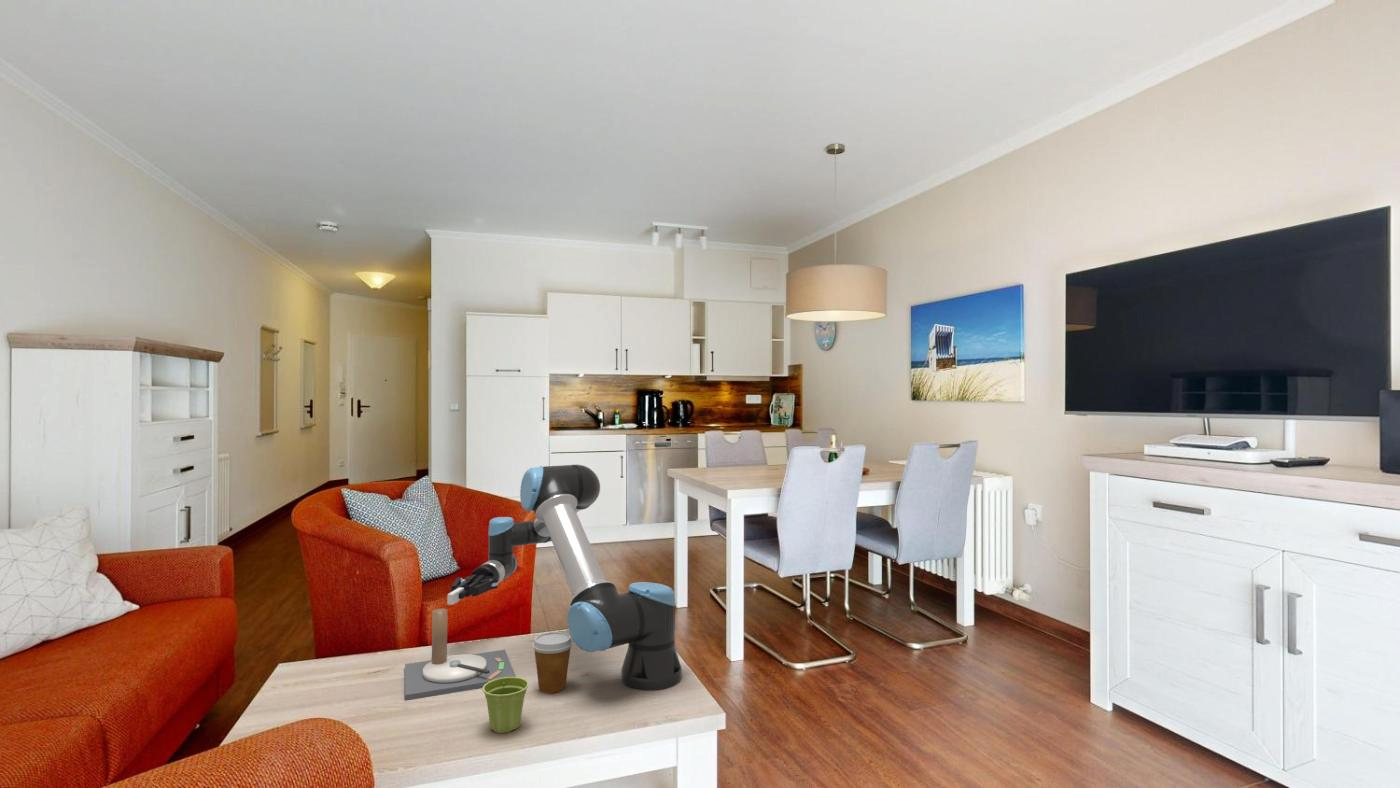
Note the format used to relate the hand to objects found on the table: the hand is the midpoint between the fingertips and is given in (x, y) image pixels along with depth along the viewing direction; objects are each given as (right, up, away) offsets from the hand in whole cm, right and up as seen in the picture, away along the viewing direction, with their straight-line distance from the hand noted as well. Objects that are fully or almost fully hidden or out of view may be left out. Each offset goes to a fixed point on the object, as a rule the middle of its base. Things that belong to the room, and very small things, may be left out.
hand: (450, 599), depth 174 cm
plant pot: (+25, -16, -35) cm, 46 cm away
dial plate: (+5, -16, -9) cm, 19 cm away
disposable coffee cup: (+31, -17, -16) cm, 39 cm away
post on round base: (+5, -15, -10) cm, 19 cm away
